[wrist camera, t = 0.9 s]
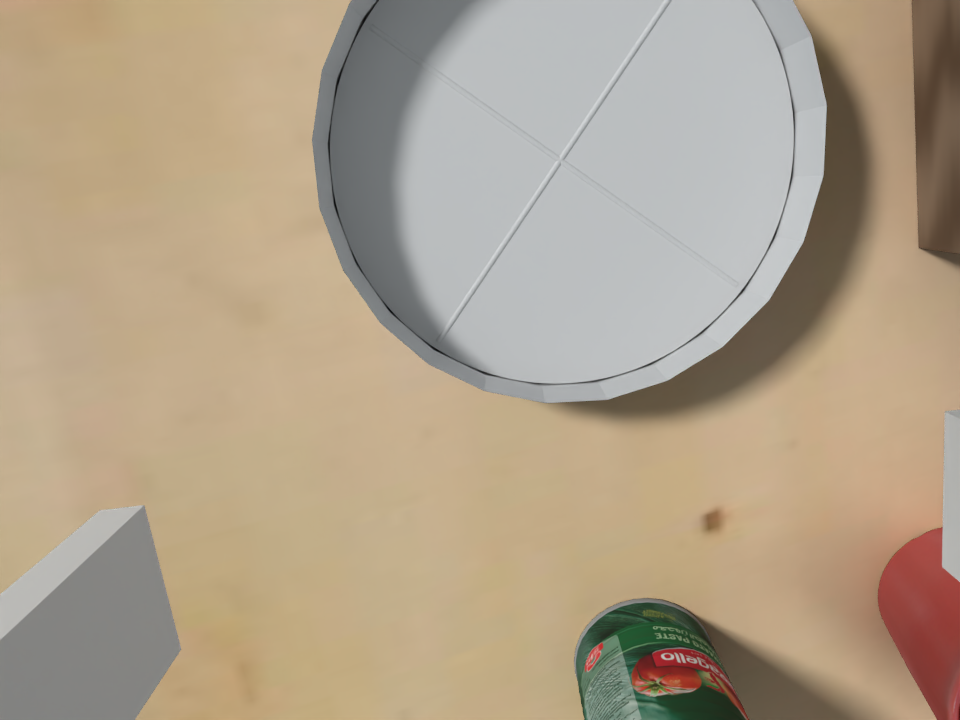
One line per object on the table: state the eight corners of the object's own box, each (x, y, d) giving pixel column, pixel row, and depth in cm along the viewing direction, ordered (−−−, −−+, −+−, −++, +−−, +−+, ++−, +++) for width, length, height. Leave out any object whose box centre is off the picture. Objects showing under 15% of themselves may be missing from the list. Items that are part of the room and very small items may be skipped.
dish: (498, -199, 32) (499, -267, 28) (881, 95, 35) (944, 80, 30) (249, 224, 37) (212, 230, 32) (606, 457, 39) (622, 495, 35)
